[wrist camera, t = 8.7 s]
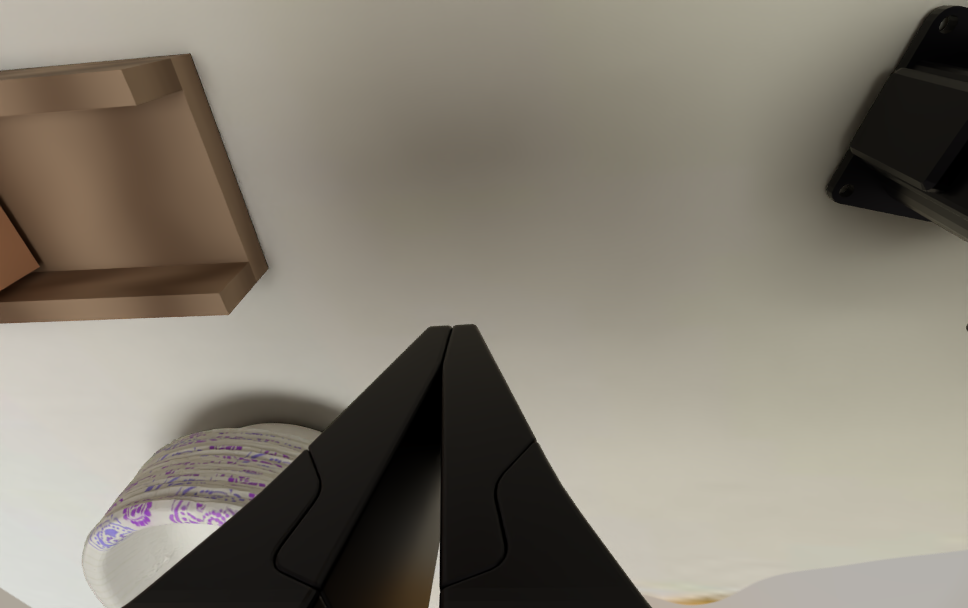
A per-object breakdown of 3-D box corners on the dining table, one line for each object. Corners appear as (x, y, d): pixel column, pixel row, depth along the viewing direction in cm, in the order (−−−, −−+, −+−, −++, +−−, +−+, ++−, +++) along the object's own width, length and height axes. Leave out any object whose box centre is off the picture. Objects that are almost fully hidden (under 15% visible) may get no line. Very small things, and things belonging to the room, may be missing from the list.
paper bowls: (284, 338, 25) (198, 470, 18) (470, 499, 31) (457, 640, 24) (123, 451, 31) (13, 582, 24) (308, 567, 37) (261, 697, 30)
